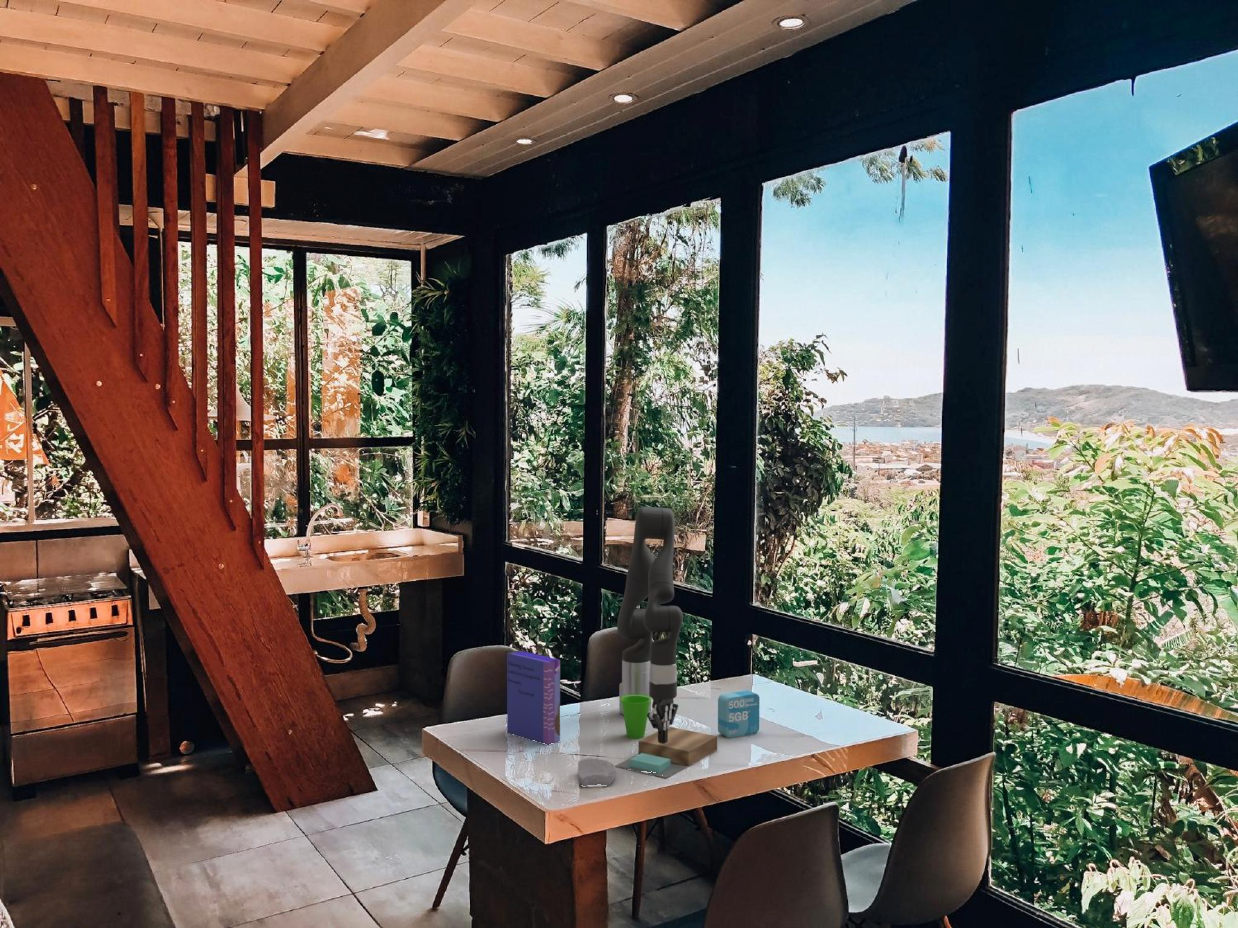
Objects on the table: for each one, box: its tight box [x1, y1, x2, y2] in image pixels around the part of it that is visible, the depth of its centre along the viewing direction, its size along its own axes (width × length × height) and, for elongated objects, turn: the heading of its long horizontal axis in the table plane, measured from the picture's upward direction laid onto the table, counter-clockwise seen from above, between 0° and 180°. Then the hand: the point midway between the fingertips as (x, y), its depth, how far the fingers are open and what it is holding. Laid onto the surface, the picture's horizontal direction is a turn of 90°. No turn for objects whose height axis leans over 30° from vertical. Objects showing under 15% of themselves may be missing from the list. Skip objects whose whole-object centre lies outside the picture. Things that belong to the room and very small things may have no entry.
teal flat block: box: [630, 753, 672, 773], centre depth 263 cm, size 9×6×2 cm, turn 57°
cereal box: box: [506, 650, 561, 746], centre depth 288 cm, size 17×5×24 cm, turn 48°
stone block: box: [577, 758, 617, 786], centre depth 254 cm, size 12×5×10 cm
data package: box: [717, 690, 760, 739], centre depth 293 cm, size 12×4×12 cm, turn 118°
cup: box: [620, 695, 652, 739], centre depth 290 cm, size 9×9×11 cm
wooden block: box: [637, 726, 718, 767], centre depth 275 cm, size 16×16×4 cm
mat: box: [614, 755, 687, 779], centre depth 263 cm, size 16×10×1 cm, turn 56°
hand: (662, 742), depth 268 cm, fingers closed
